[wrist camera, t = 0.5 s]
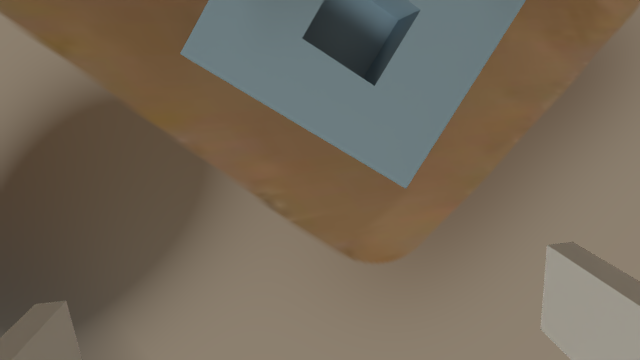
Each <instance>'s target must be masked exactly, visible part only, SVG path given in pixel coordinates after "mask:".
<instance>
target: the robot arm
mask: <svg viewBox="0 0 640 360" xmlns="http://www.w3.org/2000/svg"><path fill="white" fill-rule="evenodd" d="M544 280H545V281H544V292H543V293H544V294H543V305H542V318H541V330H542V331H543V332H544V333H545V334H546V335H547V336H548V337H549V338H550V339H551V340H552V341H553V342H554V343H555V344H556V345H557V346H558V347H559V348H560V349H561V350H562V351H563V352H564V353H565V354H566V355H567V356H568V357H569V358H570V359H571V360H640V281H638V280H636V279H634V278H633V277H631V276H629V275H628V274H626V273H624V272H623V271H621V270H619V269H617V268H616V267H614V266H613V265H611V264H609V263H607V262H606V261H604V260H602V259H601V258H599V257H597V256H596V255H594V254H592V253H591V252H589V251H587V250H586V249H584V248H582V247H580V246H579V245H577V244H575V243H574V242H569V243H560V244H552V245H547V253H546V266H545V279H544ZM0 360H82V357H81V353H80V350H79V346H78V343H77V339H76V335H75V332H74V328H73V324H72V321H71V317H70V314H69V310H68V306H67V302H66V301H59V302H50V303H42V304H35V305H34V306H33V307H32V308H31V309H30V310H29V311H28V312H27V313H26V314H25V315H24V316H23V317H22V318H21V319H20V320H19V321H18V322H16V323H15V324H14V325H13V326H12V327H11V328H10V329H9V330H8V331H7V332H6V333H5V334H4V335H3V336H2V337H1V338H0Z"/></svg>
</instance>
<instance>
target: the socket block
mask: <svg viewBox="0 0 640 360" xmlns="http://www.w3.org/2000/svg"><path fill="white" fill-rule="evenodd" d="M524 2H525V0H209V1H208V3H207V5H206V7H205V8H204V10H203V12H202V14H201V16H200V18H199V20H198V21H197V23H196V25H195V27H194V29H193V31H192V33H191V34H190V36H189V38H188V40H187V42H186V44H185V46H184V47H183V49H182V51H181V53H180V54H181V55H183V56H184V57H186V58H188V59H190V60H191V61H193V62H195V63H196V64H198V65H200V66H201V67H203V68H205V69H206V70H208V71H210V72H211V73H213V74H215V75H216V76H218V77H220V78H221V79H223V80H225V81H226V82H228V83H230V84H231V85H233V86H235V87H236V88H238V89H240V90H241V91H243V92H245V93H246V94H248V95H250V96H251V97H253V98H255V99H257V100H258V101H260V102H262V103H263V104H265V105H267V106H268V107H270V108H272V109H273V110H275V111H277V112H278V113H280V114H282V115H283V116H285V117H287V118H288V119H290V120H292V121H293V122H295V123H297V124H298V125H300V126H302V127H303V128H305V129H307V130H308V131H310V132H312V133H313V134H315V135H317V136H318V137H320V138H322V139H324V140H325V141H327V142H329V143H330V144H332V145H334V146H335V147H337V148H339V149H340V150H342V151H344V152H345V153H347V154H349V155H350V156H352V157H354V158H355V159H357V160H359V161H360V162H362V163H364V164H365V165H367V166H369V167H370V168H372V169H374V170H375V171H377V172H379V173H380V174H382V175H384V176H386V177H387V178H389V179H391V180H392V181H394V182H396V183H397V184H399V185H401V186H402V187H404V188H407V186H408V185H409V183H410V182H411V180H412V179H413V177H414V175H415V174H416V172H417V171H418V169H419V168H420V166H421V164H422V163H423V161H424V160H425V158H426V157H427V155H428V153H429V152H430V150H431V149H432V147H433V146H434V144H435V142H436V141H437V139H438V138H439V136H440V134H441V133H442V131H443V130H444V128H445V127H446V125H447V123H448V122H449V120H450V119H451V117H452V116H453V114H454V112H455V111H456V109H457V108H458V106H459V105H460V103H461V101H462V100H463V98H464V97H465V95H466V93H467V92H468V90H469V89H470V87H471V86H472V84H473V82H474V81H475V79H476V78H477V76H478V75H479V73H480V71H481V70H482V68H483V67H484V65H485V64H486V62H487V60H488V59H489V57H490V56H491V54H492V53H493V51H494V49H495V48H496V46H497V45H498V43H499V41H500V40H501V38H502V37H503V35H504V34H505V32H506V30H507V29H508V27H509V26H510V24H511V23H512V21H513V19H514V18H515V16H516V15H517V13H518V12H519V10H520V8H521V7H522V5H523V4H524Z"/></svg>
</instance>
